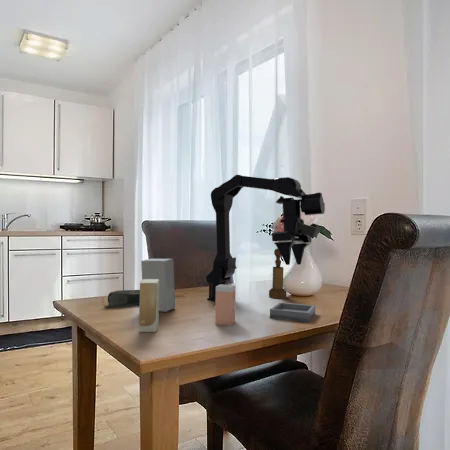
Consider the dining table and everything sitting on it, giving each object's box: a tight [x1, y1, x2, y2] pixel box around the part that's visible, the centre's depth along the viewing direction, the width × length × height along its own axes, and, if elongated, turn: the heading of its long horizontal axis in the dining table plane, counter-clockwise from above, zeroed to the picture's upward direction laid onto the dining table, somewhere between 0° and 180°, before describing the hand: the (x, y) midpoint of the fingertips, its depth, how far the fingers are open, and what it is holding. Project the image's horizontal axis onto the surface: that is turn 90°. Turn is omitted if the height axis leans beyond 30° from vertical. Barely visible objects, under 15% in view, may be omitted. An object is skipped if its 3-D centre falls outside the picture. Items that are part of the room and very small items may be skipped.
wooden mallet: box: [268, 248, 287, 299], centre depth 144 cm, size 7×6×18 cm
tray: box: [269, 301, 316, 323], centre depth 113 cm, size 11×11×2 cm
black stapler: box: [103, 289, 140, 308], centre depth 126 cm, size 5×3×15 cm
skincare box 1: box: [140, 258, 176, 313], centre depth 119 cm, size 8×7×16 cm
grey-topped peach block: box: [214, 284, 236, 326], centre depth 104 cm, size 4×4×10 cm
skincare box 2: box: [138, 279, 160, 333], centre depth 97 cm, size 6×4×12 cm
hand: (293, 264), depth 123 cm, fingers open, 9 cm apart
